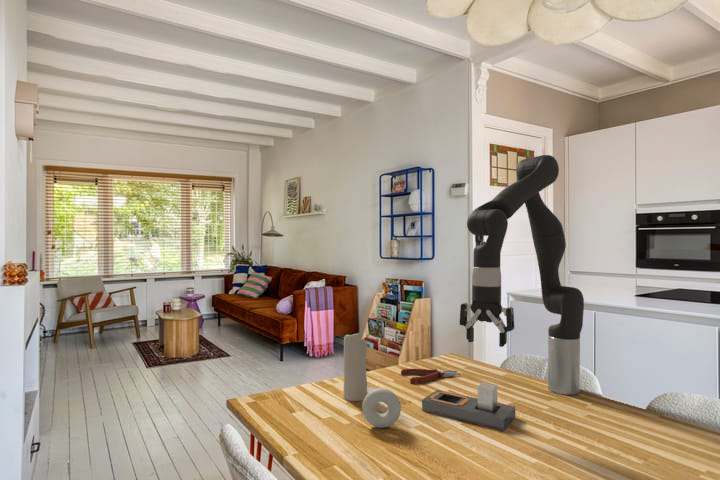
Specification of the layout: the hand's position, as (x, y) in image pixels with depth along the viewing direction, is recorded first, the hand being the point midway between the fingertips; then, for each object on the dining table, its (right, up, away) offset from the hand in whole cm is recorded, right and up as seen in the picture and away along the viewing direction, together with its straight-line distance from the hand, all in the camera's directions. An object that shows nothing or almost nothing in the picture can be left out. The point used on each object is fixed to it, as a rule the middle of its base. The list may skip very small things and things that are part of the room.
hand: (486, 344), depth 121 cm
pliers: (-9, -21, +34) cm, 41 cm away
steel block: (0, -20, 0) cm, 20 cm away
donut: (-28, -20, -6) cm, 35 cm away
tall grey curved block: (-34, -20, +19) cm, 43 cm away
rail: (-4, -20, +3) cm, 21 cm away
